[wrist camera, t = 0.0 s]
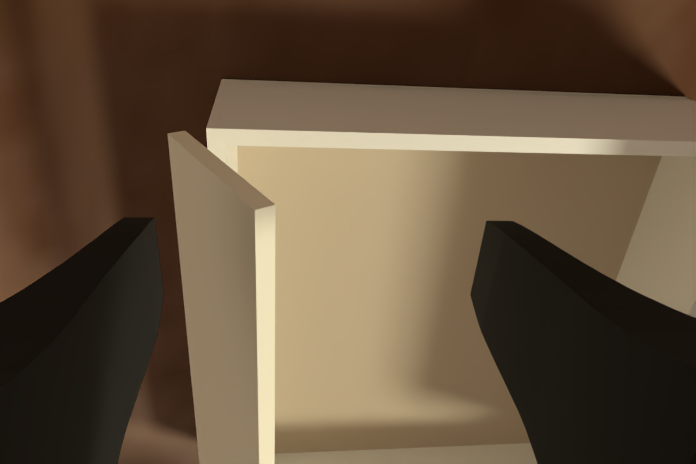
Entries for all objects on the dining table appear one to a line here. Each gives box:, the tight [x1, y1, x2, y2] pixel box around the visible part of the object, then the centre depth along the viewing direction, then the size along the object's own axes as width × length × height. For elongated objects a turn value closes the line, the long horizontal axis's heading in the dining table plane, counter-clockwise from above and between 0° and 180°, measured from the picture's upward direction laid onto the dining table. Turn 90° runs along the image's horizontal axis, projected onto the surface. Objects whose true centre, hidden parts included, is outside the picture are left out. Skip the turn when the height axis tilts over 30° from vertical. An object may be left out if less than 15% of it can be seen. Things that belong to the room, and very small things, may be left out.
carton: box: [206, 79, 696, 464], centre depth 24 cm, size 20×18×5 cm
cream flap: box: [167, 131, 275, 464], centre depth 19 cm, size 20×5×1 cm
